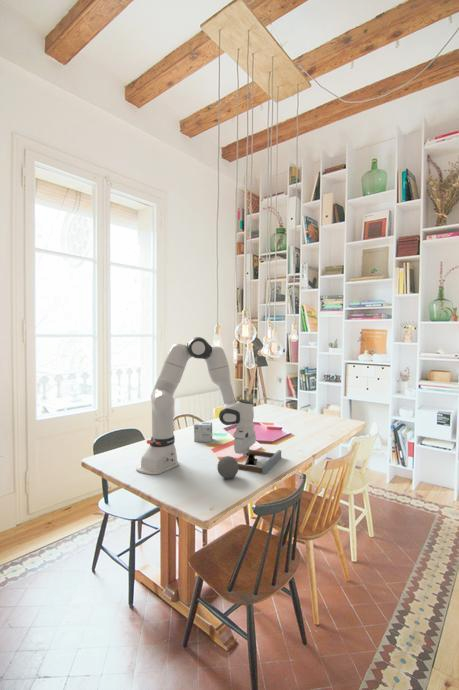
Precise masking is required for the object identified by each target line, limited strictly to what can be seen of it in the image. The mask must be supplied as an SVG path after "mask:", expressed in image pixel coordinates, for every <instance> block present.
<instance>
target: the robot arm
mask: <svg viewBox="0 0 459 690" xmlns="http://www.w3.org/2000/svg"><path fill="white" fill-rule="evenodd" d="M191 358H194V359H200V360H204V361H205V362H206V366H207V372H208V374H209V377H210V379H211V382H212V383H213V384H216V385H217V386H218V388H219V389H220V393H221V396H222V400H223V407H222V409H221V410H220V411H219V413H218V419H219V421H220V422H221V424H222V425H225V426H232V425H236V429H235V431H234V432H233V435H232V437H233V438H234V439H233V449H234V452H235V454H238V455H240V454H241V455H242V454H243V455H242V457H243V458H248V455H249V454H248V452H249V449H250V447H252V446H253V445H254V444H256V441H257V438H256V437H257V436H256V430H255V425H254V424H255V423H254V417H255V414H254V413H255V412H254V411H255V410H254V405H253V403H252V402H251V401H250V400H248V399H239V400H238V401H236V398H235V395H234V390H233V388H232V387H233V386H232V383H231V372H230V371H231V370H230V367H229V362H228V361H229V360H228V358H227V355H226V352H225V350H224V349H223V348H222V347H220V346H211V345H210V343H209V342H208V341H207V340H206V339H205V338H203V337H201V336H195V337H193V338H192V339H190V340H189V341H188V342H187V343H185V344H183V343H175V344H172V346H171V348H170V349H169V351H168V353H167V355H166V357H165V360H164V362H163V365H162V368H161V371H160V374H159V376H158V378H157V381H156V382H155V384H154V387H153V389H152V393H151V395H150V401H151V437H150V439H147V440H146V444H147V445H149V446H148V447H147V449H146V451H145V452H144V454H143V455H142V457H141V460H140V464H139V465H138V466H137V467H136V468H135V469H136V471H137V472H139V473H141V474H146V475H159V474H162V473H165V472H167V471H169V470H171V469H173V468H176V467H178V466H179V465H180V462H179V461H178V455H177V449H176V446H175V439H176V438H175V433H174V415H175V413H174V412H175V398H174V395H175V392H176V391H177V388H178V386H179V384H180V382H181V380H182V378H183V374H184V373H185V369H186V366H187V364H188V361H189V360H190V359H191Z"/></svg>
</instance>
